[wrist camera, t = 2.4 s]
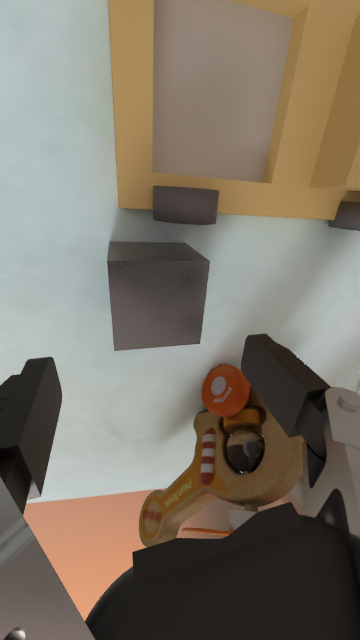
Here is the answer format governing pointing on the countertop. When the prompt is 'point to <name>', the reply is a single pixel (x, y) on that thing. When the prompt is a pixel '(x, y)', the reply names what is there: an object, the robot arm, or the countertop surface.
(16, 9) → the countertop surface
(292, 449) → the toy helicopter
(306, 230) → the countertop surface
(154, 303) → the block
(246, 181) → the chassis
